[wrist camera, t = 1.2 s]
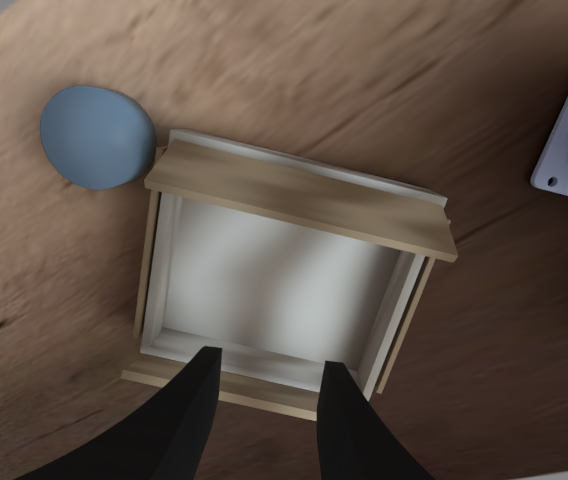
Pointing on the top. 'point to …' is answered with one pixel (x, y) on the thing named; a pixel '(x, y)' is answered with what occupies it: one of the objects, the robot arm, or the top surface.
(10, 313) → the top surface
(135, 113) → the blue pebble
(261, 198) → the flap
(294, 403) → the flap
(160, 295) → the carton
